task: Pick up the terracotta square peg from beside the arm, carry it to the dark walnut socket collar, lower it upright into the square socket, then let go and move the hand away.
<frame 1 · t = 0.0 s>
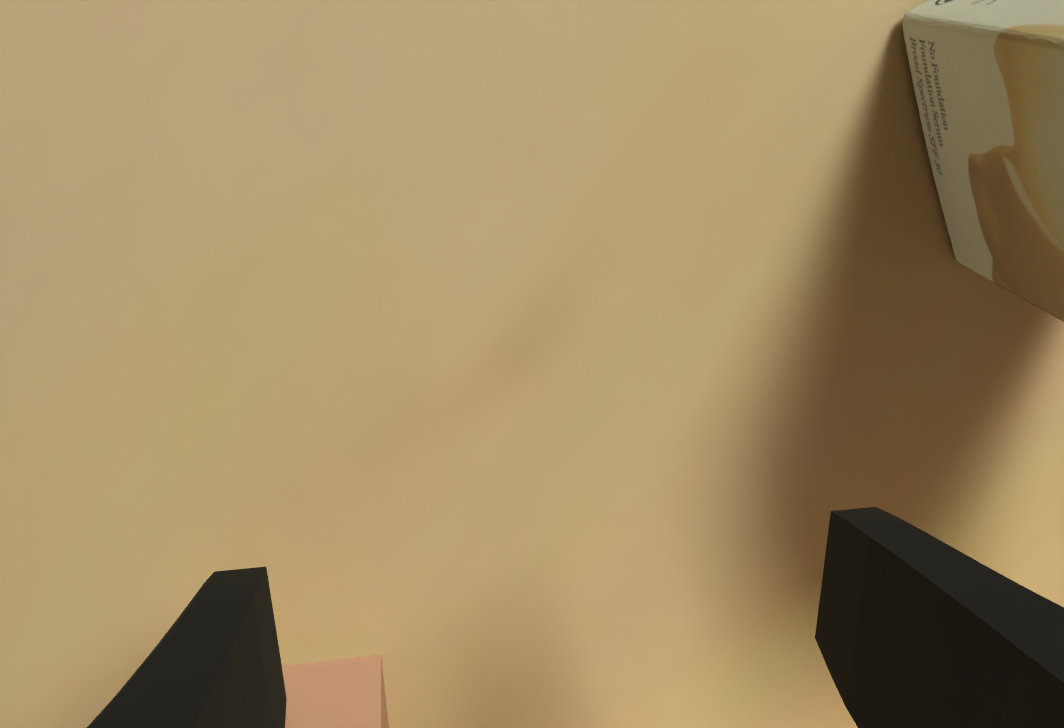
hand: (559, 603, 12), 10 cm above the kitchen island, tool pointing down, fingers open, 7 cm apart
skincare box: (1009, 110, 21), on the kitchen island
peg: (310, 723, 25), on the kitchen island
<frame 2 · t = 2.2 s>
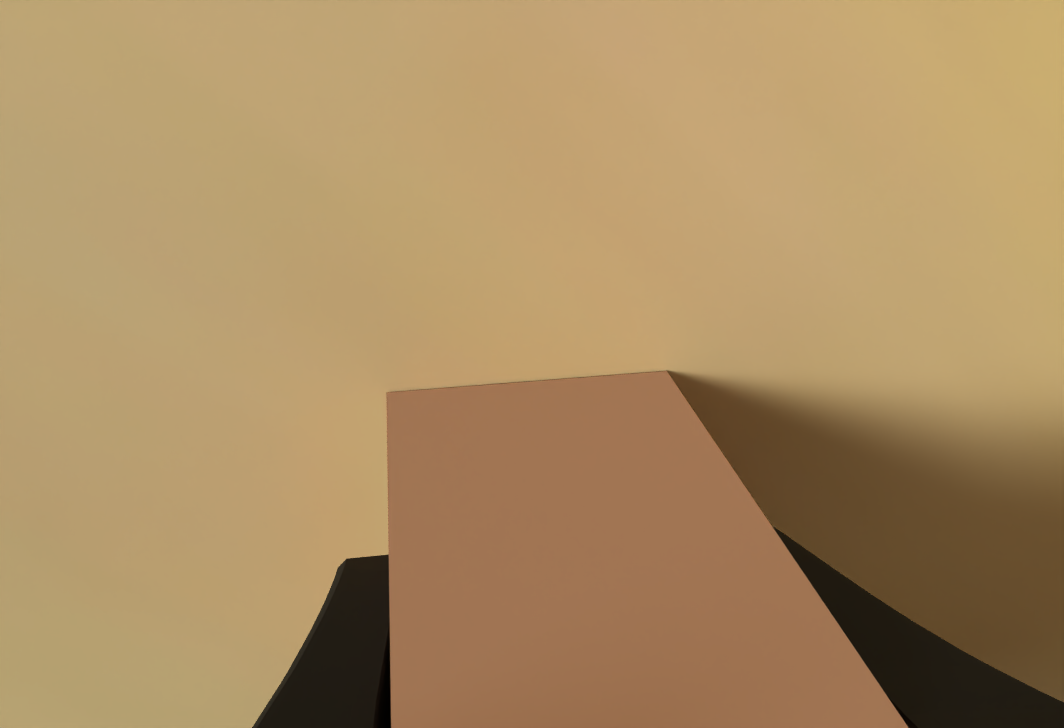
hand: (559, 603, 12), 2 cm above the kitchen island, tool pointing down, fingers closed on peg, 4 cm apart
peg: (531, 502, 14), on the kitchen island, touching gripper
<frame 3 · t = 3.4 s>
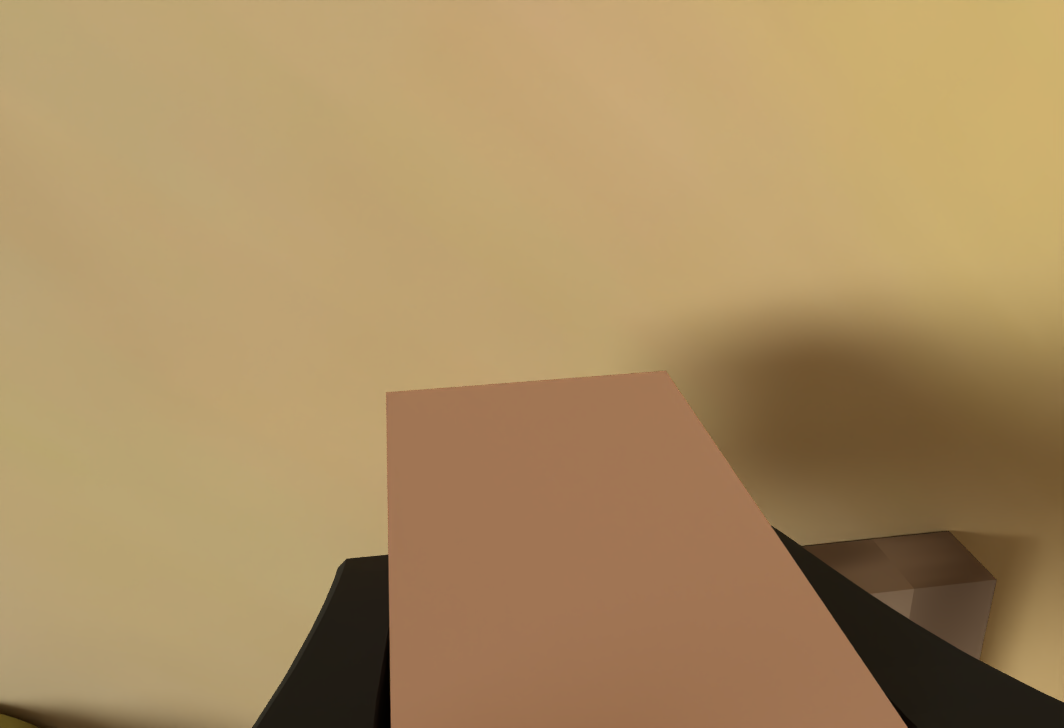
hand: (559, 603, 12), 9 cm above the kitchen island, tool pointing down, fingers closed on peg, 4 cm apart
peg: (531, 502, 14), point 6 cm above the kitchen island, touching gripper
socket block: (730, 720, 25), on the kitchen island
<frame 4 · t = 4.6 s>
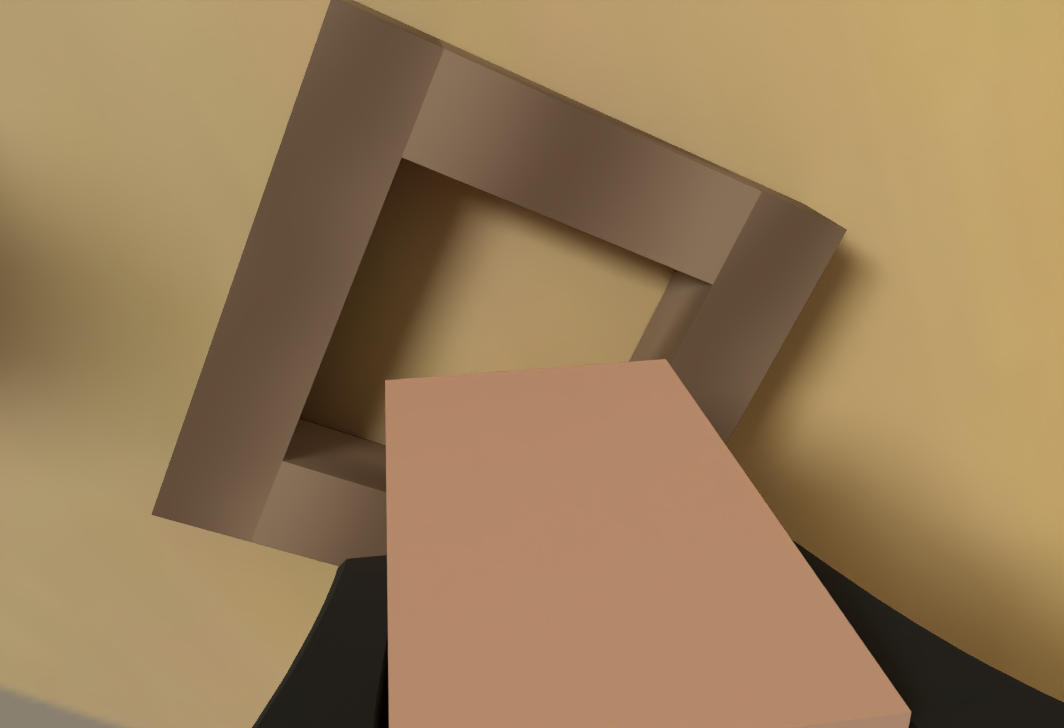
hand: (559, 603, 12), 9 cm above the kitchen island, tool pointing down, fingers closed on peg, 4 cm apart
peg: (530, 491, 14), point 7 cm above the kitchen island, touching gripper
socket block: (486, 335, 21), on the kitchen island
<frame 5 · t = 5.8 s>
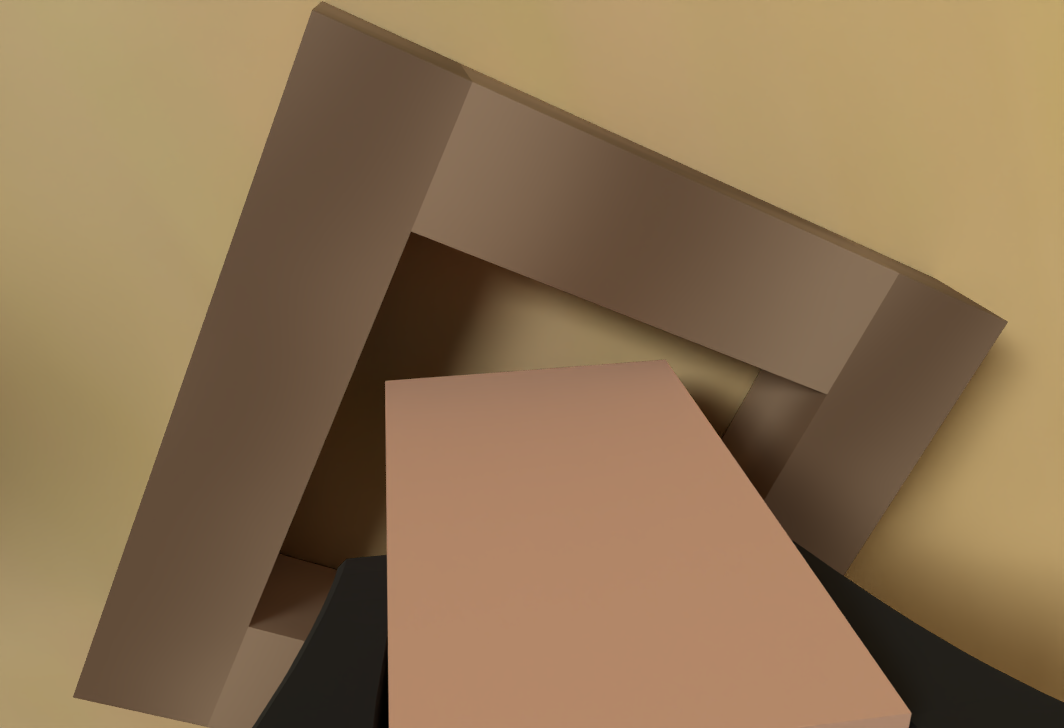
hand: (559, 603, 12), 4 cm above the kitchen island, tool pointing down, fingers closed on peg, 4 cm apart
peg: (530, 492, 14), point 2 cm above the kitchen island, touching gripper
socket block: (518, 446, 16), on the kitchen island
when the fingers open (3 cm above the kitchen island, at t = 7.0 s): peg stays where it is, resting in socket block.
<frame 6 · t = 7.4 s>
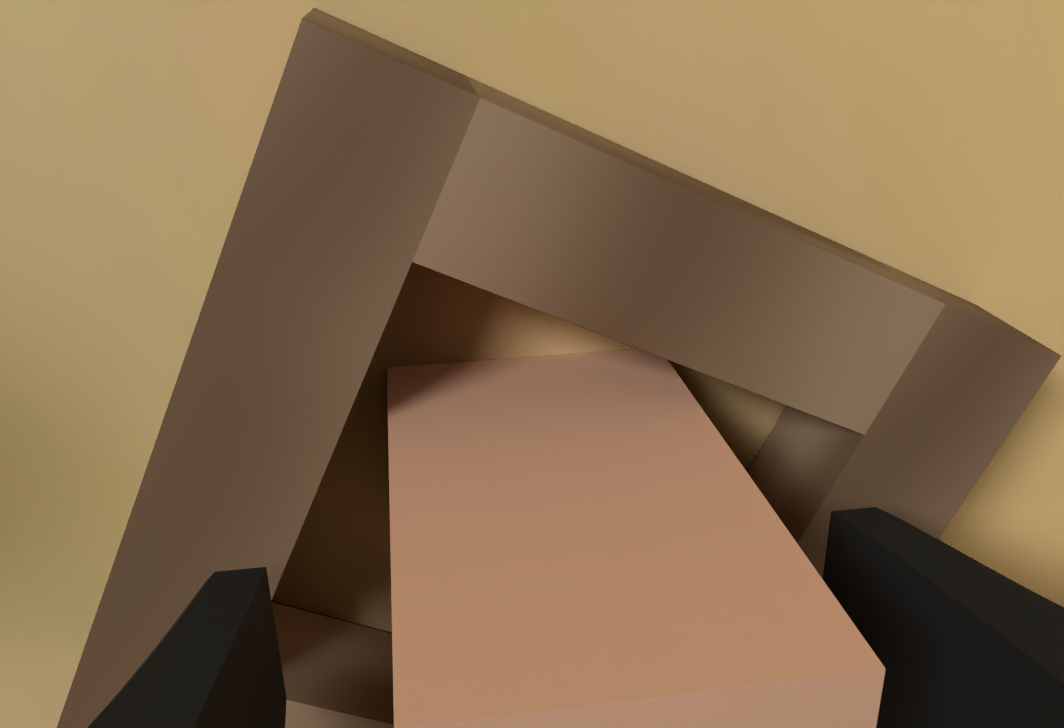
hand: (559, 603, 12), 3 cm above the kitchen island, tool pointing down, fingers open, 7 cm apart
peg: (528, 476, 15), resting in socket block
socket block: (527, 486, 15), on the kitchen island
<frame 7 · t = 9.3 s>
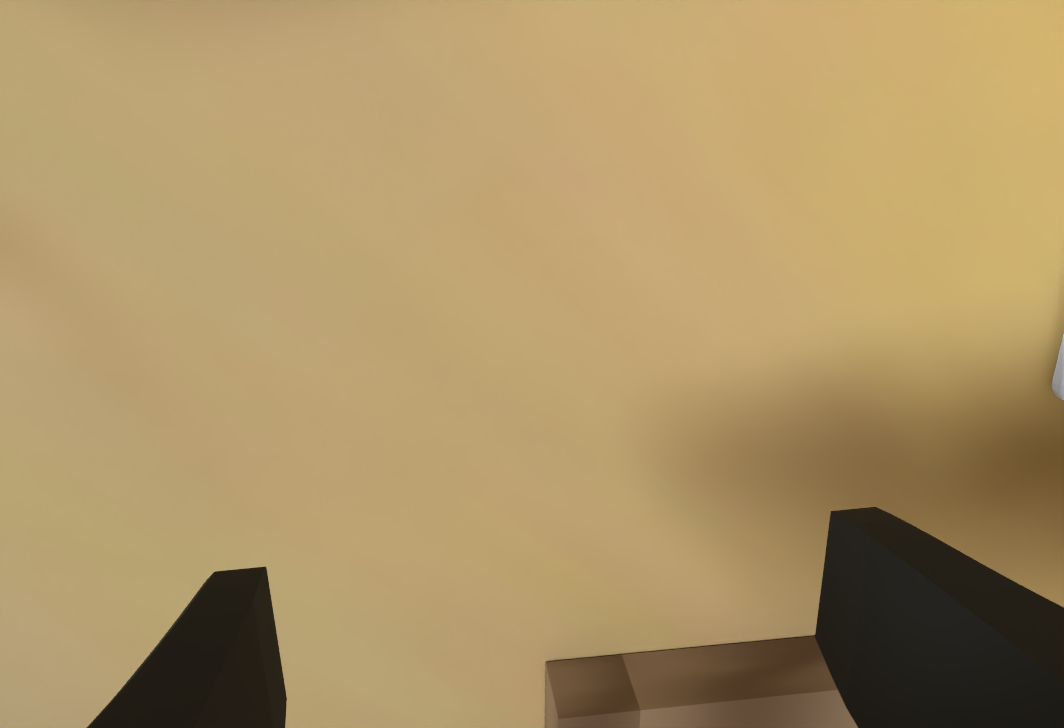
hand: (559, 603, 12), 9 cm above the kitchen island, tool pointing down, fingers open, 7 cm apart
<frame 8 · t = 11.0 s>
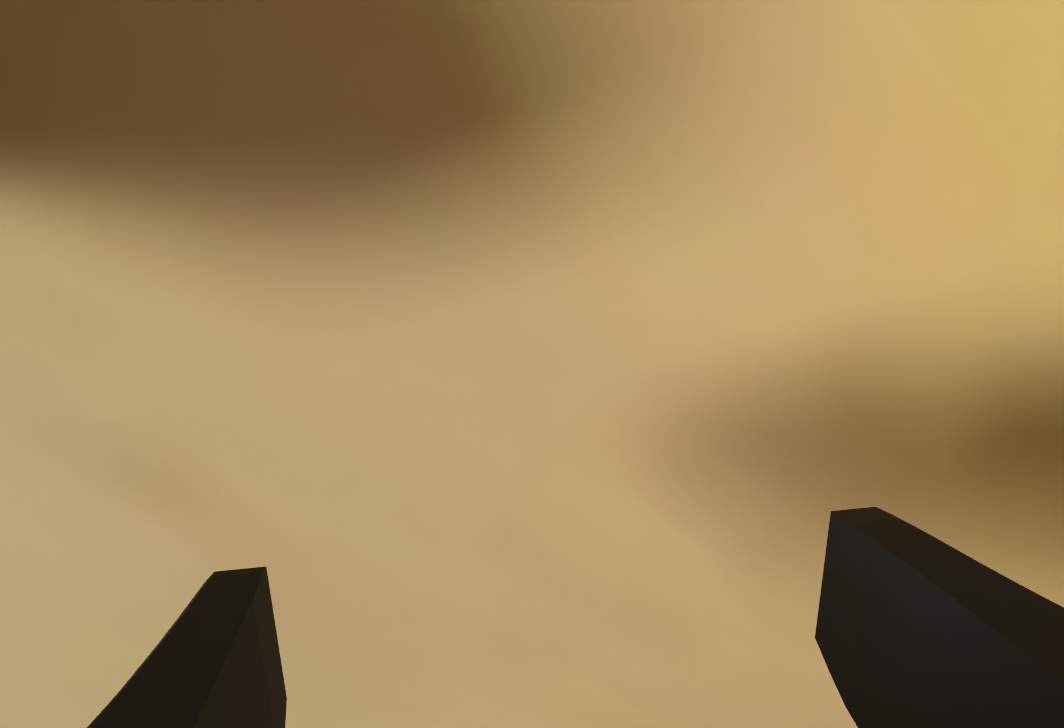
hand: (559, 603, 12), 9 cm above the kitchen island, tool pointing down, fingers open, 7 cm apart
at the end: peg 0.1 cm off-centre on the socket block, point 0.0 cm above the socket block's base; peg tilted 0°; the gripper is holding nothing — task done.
